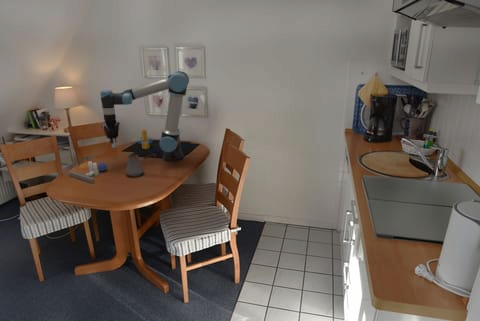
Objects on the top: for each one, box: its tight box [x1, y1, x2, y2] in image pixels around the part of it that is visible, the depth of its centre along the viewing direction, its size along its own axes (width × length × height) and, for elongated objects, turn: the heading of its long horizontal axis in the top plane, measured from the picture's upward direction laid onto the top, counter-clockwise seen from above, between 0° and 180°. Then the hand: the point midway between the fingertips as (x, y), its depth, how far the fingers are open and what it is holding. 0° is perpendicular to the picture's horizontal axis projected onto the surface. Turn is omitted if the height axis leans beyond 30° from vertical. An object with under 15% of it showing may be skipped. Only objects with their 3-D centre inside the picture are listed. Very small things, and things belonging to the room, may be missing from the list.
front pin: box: [84, 170, 100, 177], centre depth 221 cm, size 2×2×8 cm
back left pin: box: [92, 162, 99, 177], centre depth 219 cm, size 2×2×8 cm
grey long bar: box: [68, 171, 96, 184], centre depth 215 cm, size 24×2×2 cm, turn 58°
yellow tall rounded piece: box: [137, 129, 154, 150], centre depth 274 cm, size 12×10×15 cm
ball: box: [97, 161, 108, 172], centre depth 227 cm, size 6×6×6 cm
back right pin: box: [87, 160, 94, 173], centre depth 222 cm, size 2×2×8 cm
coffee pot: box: [125, 153, 157, 177], centre depth 218 cm, size 21×12×15 cm, turn 82°
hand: (114, 147), depth 232 cm, fingers closed
